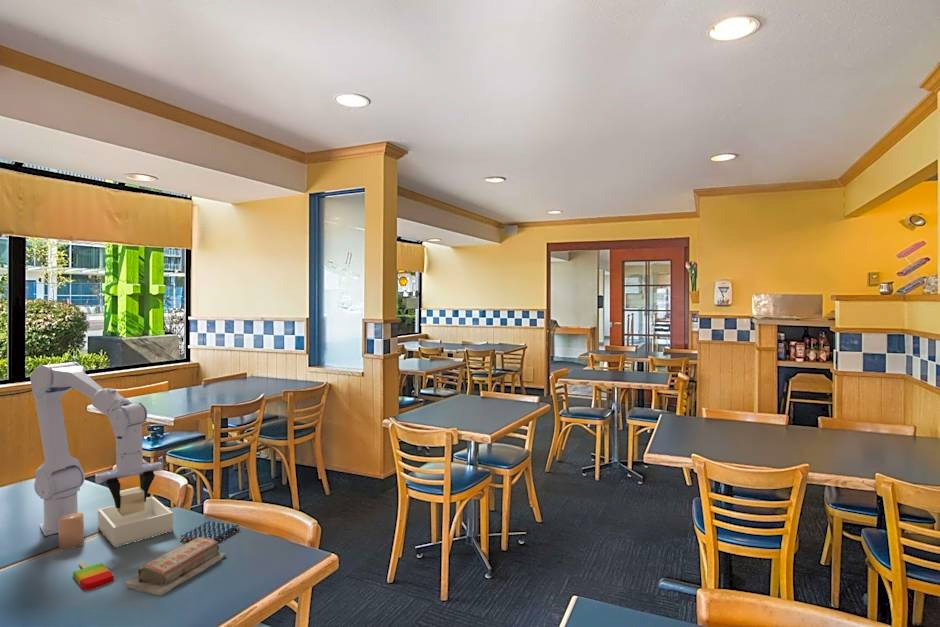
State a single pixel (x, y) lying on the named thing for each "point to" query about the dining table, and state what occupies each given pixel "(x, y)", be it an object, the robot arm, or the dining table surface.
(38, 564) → the dining table surface
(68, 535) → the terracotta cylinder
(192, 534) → the woven mat
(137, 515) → the tote
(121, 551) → the dining table surface
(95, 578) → the popsicle
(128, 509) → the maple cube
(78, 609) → the dining table surface
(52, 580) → the dining table surface
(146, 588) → the packaged product
